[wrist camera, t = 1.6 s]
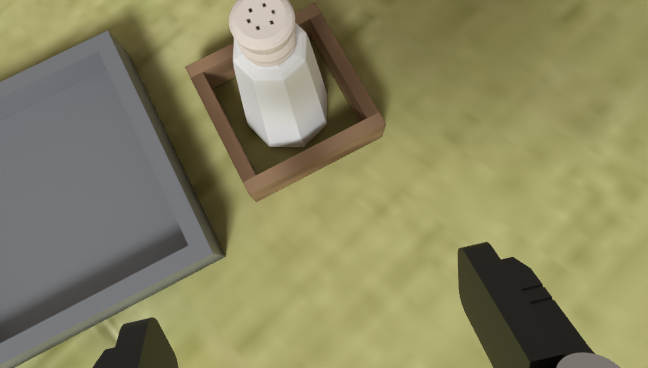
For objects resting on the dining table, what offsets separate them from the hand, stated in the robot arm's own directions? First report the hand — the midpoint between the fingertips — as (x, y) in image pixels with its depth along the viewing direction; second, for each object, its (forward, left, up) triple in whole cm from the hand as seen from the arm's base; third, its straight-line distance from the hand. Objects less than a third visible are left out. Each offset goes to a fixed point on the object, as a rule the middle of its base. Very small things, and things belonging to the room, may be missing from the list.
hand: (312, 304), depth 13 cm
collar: (-3, -11, -16) cm, 20 cm away
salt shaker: (-3, -11, -16) cm, 20 cm away
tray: (+12, -12, -16) cm, 23 cm away
